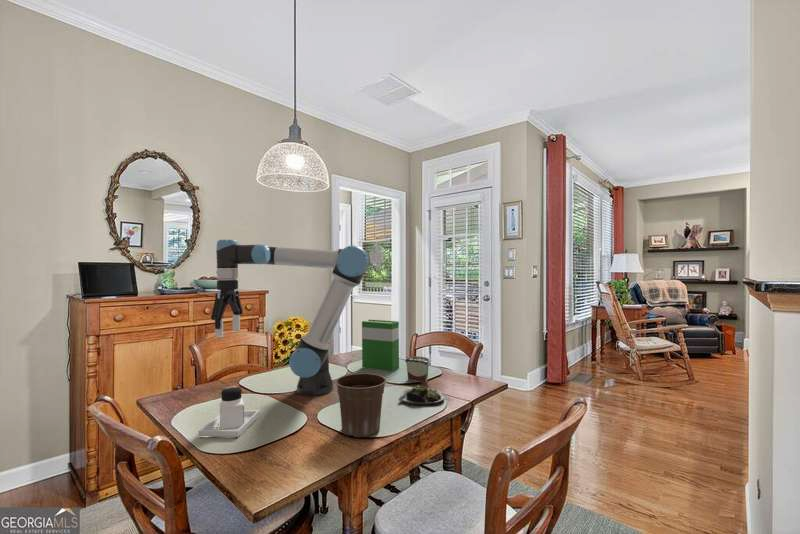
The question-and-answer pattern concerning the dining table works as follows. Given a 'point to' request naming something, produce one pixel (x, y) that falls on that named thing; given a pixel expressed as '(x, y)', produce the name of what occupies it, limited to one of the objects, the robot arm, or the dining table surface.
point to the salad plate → (421, 396)
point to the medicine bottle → (231, 408)
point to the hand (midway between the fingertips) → (228, 334)
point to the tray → (232, 432)
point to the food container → (417, 368)
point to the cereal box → (380, 345)
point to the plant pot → (360, 403)
